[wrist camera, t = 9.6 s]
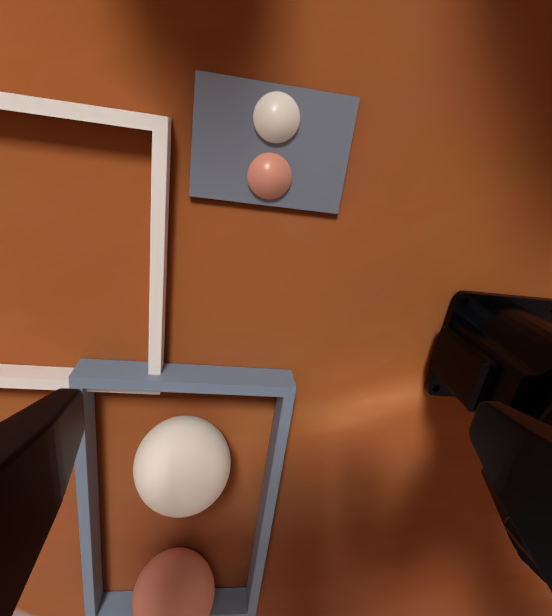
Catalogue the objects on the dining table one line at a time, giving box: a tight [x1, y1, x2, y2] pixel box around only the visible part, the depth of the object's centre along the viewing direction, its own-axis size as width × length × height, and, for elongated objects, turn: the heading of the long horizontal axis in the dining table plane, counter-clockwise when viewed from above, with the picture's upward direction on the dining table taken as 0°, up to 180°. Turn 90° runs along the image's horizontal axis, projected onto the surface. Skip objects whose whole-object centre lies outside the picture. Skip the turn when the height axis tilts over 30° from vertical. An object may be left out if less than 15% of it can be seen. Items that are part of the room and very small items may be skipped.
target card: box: [189, 70, 360, 214], centre depth 18 cm, size 7×5×1 cm
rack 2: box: [68, 358, 296, 616], centre depth 25 cm, size 11×19×2 cm, turn 173°
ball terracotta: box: [132, 547, 215, 616], centre depth 25 cm, size 5×5×5 cm
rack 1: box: [0, 92, 172, 395], centre depth 18 cm, size 13×13×1 cm
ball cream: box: [133, 415, 231, 518], centre depth 21 cm, size 5×5×5 cm
